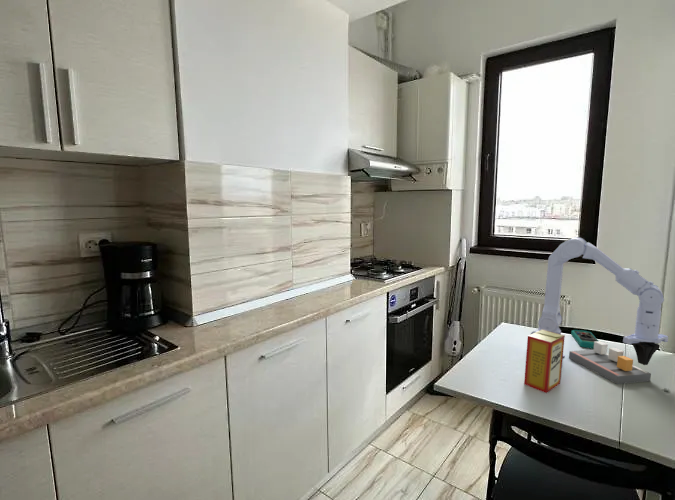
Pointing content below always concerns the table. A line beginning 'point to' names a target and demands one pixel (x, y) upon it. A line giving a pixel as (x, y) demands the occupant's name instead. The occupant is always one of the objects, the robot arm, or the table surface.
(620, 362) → the orange small block
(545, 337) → the baking soda box
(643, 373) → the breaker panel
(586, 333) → the digital multimeter
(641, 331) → the robot arm
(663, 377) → the table surface
